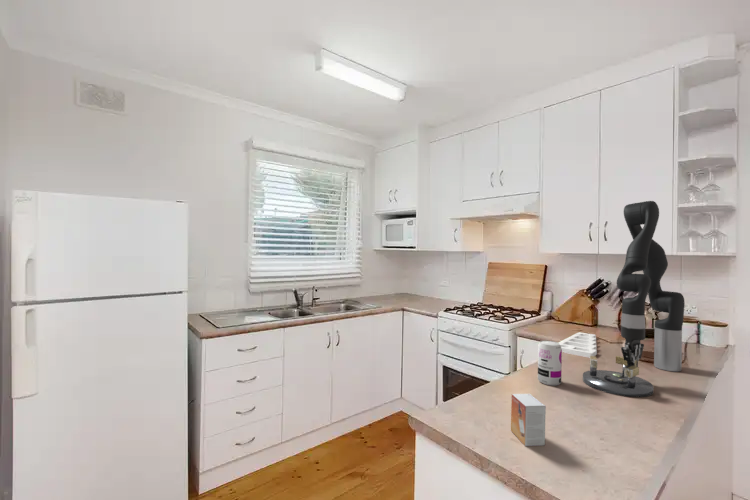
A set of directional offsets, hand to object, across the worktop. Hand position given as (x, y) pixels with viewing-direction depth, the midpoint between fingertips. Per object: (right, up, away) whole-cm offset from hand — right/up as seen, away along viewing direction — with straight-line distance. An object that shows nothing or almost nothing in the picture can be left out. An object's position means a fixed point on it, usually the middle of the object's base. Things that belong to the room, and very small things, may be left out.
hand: (632, 370), depth 138 cm
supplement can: (-32, -5, 0) cm, 32 cm away
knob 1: (-14, -2, +1) cm, 14 cm away
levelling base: (-8, -5, -2) cm, 9 cm away
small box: (-58, -5, -41) cm, 71 cm away
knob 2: (-7, -2, -10) cm, 12 cm away
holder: (+13, -5, +54) cm, 56 cm away
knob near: (-1, -2, +2) cm, 3 cm away
